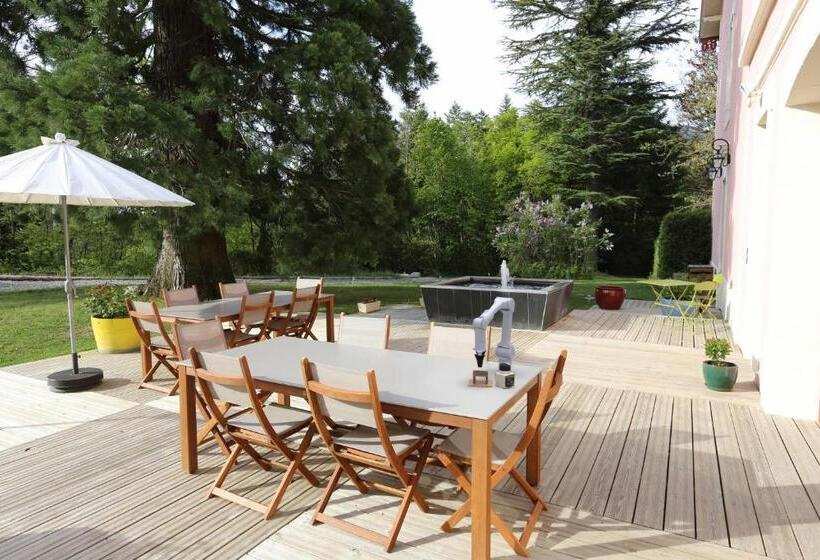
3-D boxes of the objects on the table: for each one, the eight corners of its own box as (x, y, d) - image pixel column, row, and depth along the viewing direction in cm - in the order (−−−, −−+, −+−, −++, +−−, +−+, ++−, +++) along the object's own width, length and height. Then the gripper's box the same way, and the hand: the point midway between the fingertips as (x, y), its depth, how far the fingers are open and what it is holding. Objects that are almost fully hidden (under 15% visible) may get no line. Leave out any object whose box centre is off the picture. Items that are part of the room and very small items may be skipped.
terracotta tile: (468, 380, 289) (468, 379, 289) (492, 381, 287) (492, 380, 287) (467, 386, 278) (467, 385, 278) (492, 387, 276) (492, 386, 276)
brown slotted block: (473, 381, 285) (473, 370, 285) (488, 381, 284) (488, 370, 283) (472, 383, 280) (472, 372, 280) (487, 384, 279) (487, 373, 279)
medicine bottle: (505, 389, 273) (505, 366, 272) (495, 385, 278) (495, 363, 277) (514, 386, 277) (514, 364, 276) (504, 383, 283) (504, 361, 281)
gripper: (473, 337, 288) (473, 361, 289) (471, 343, 274) (472, 368, 275) (486, 337, 287) (486, 362, 288) (485, 343, 273) (485, 369, 274)
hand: (480, 365), depth 281 cm, fingers open, 7 cm apart
